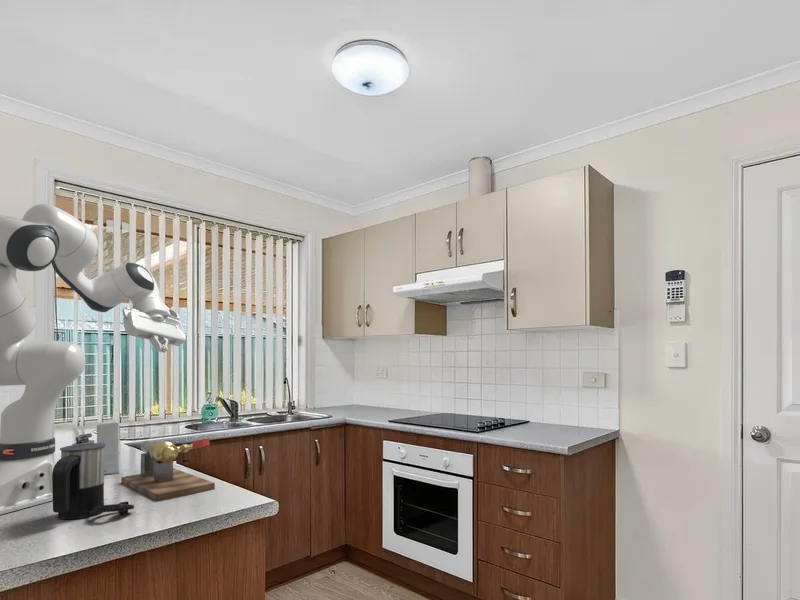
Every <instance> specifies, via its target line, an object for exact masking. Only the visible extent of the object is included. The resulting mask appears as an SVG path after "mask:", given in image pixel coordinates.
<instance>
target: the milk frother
mask: <svg viewBox="0 0 800 600" xmlns="http://www.w3.org/2000/svg"><path fill="white" fill-rule="evenodd" d="M105 446H106V444H105V443H97V442H94V443H86V444H77V445H72V444H71V445H67V446H63V447H60V448H59V451H61V452H60V459H58V460H57V461H56V463H54V469H53V473H52V495H53V500H52V511H53V513H57V516H56V517H57V518H58V519H62V520H63V519H64V520H74V519H83V518H87V517H92V516H95V515H98V514H100V513H101V514H102V513H111V512H118V513H119V514H118V515H120V516H121V515H125V514H128V513H129V510H134V509H135V505H134V504H129V501H121V502H119V503H115V504H113V503H112V504H105V499H104V498H105V497H104V496H105V492H104V491H105V490H104V489H105V488H104V487H105V482H104V481H105V474H104V456H105Z"/></svg>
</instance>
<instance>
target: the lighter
mask: <svg viewBox="0 0 800 600" xmlns="http://www.w3.org/2000/svg"><path fill="white" fill-rule="evenodd" d="M92 437H93V434H92V433H91V432H89V433H84V434H83V433H80V434H79V435H78V436H75V443H72V444H71V445H77V444H86V443H95V439H94V440H93V439H91V440H90V438H92Z"/></svg>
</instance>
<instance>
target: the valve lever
mask: <svg viewBox="0 0 800 600" xmlns="http://www.w3.org/2000/svg"><path fill="white" fill-rule="evenodd" d="M210 445H211V443H210V437H209V438H202V439H198V440H196V441H192V443H189V444H188V443H185V444H181V445H180V446H182V452H181V453H182V454H183V453H188V452H189V450H194V449H200V448H203V447H207V446H210Z"/></svg>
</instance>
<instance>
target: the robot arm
mask: <svg viewBox="0 0 800 600" xmlns="http://www.w3.org/2000/svg"><path fill="white" fill-rule="evenodd" d="M98 249H99V241H98V239H97V236H96V234H95V233H94V232H93V230H92V229H91V228H89V226H87V225H86V224H85V223H84V222H82V221H81V220H79V219H78V218H76V216H73V215H71V213H69V212H67V211H65V210H63V209H61V208H60V207H57V206H55V205H52V204H49V203H39V204H36V205H33V206H32V207H30V208H29V209H28V210H26V212H25V213H24V215H23V217H22V218H21V219H19V218H16V217H14V216H10V215H5V214H0V387H2V386H3V387H4V386H25V387H24V391H23V394H22V395H21V397H20V398H18V399H17V400H15V401H13V402H11V403H10V404H8V405H7V406H5V408H4V409H3V410H2V412H1V414H0V515H4V514H7V513H10V512H15V511H19V510H22V509H26V508H29V507H33V506H37V505H40V504H44V503H45V504H46V503H48V502H51V501H52V502H53V495H52V473H53V469H54V466H55V460H54V454H55V452H56V438H55V437H54V430H55V429H54V426H55V425H54V424H55V415H56V407H57V405H58V402H59V399H60V398H61V395H62V394H63V392H64V391H65V390H66V389H67V387H68V386H69V385H70V384H72V383H73V382H74V381H76V380H77V379H78V378H79V377H80V376H81V375H82V373H83V372H84V370H85V367H86V356H85V355H86V354H85V352H84V350H83V349H82V347H81V346H79V344H77V343H73V342H70V341H69V342H67V341H63V340H62V341H61V340H35V341H31V340H26V337H28V336H29V335H30V334H31V333H32V332H33V331H34V329H35V327H36V323H37V322H36V320H37V319H36V316H35V314H34V312H33V310H32V307H31V305H30V304H29V301H28V299H27V298H26V296H25V294H24V292H23V289H22V288H21V286H20V284H19V282H18V278H17V270H19V271H25V272H38V271H43V270H44V269H46V268H48V267H49V266H50V265H51V266H52V267H53V270H54V272H55V273H56V275H57V276H58V277H59V278H60V279H61V280H62V281H63V282H64V283H65V284H66V285H68V287H69V288H70V289H71V290H73V291H74V292H75V293H76V294H77V295H78V296H79V297H80V298H81V299H82V300H83V302H84V303H85V305H87V307H89V308H90V309H91V310H92V311H96V312H99V313H107V312H108V311H111V310H112V309H114V308H115V307H117V306H118V305H119V304H122V303H124V302H126V301H128V300H129V301H130V302H131V303H132V308H131V307H128V306H126V307H125V308H122V315H123V327H124V331H125V333H126V334H127V335H128V336H130V337H135V338H140V339H144V340H149V343H151V345H153V347H154V349H155V351H156V352H159V353H166V352H168V350H169V347H168V345H171V346H177V347H178V346H180V345H182V344H183V343H184V342H186V341H187V335H186V331H185V329H184V327H183V324H182V322H181V321H180V320H179V319H181V318H180V314H179V313H178V312H176V311H174V310H173V309H171V308H169V307H168V305H166V304H164V301H163V299H162V298H161V293H160V289H159V286H158V284H157V281H156V279H155V278H154V277H155V276H154V275H153V274H152V272H151V271H150V270H149V269H148V268H146V267H144V266H143V265H140V264H138V263H135V262H127V263H123V264H121V265H119V266H118V267H115V268H113V269H112V270H110V271H108V272H106V273H104V274H102V275H100V276H98V277H95V278H92V279H91V278H90V279H89V278H88V277H87V276H86V275H85V274H84V273H83V272H82V271H83V270H84V269H85V268H87V266H88V265H90V264H91V263H92V262H93V260H94V259H95V257H96V255H97V252H98Z"/></svg>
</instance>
